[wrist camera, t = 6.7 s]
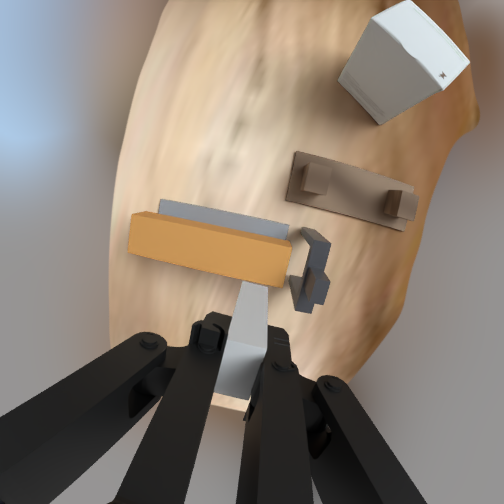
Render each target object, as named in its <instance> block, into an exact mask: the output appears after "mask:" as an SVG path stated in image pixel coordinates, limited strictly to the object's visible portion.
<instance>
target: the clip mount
mask: <svg viewBox="0 0 504 504" xmlns="http://www.w3.org/2000/svg"><path fill="white" fill-rule="evenodd" d="M159 214H163V215H168V216H173V217H178V218H183V219H188V220H193V221H198V222H202V223H207V224H212V225H217V226H222V227H227V228H231V229H236V230H241V231H245V232H250V233H255V234H259V235H264V236H269V237H273V238H278V239H282V240H286V237H287V233H288V228H289V225H288V224H283V223H279V222H274V221H270V220H265V219H261V218H256V217H251V216H247V215H242V214H237V213H232V212H227V211H222V210H217V209H212V208H207V207H202V206H197V205H192V204H187V203H181V202H176V201H171V200H165V199H161V201H160V207H159Z"/></svg>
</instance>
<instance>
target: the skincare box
mask: <svg viewBox="0 0 504 504" xmlns="http://www.w3.org/2000/svg"><path fill="white" fill-rule="evenodd" d="M469 63H470V61H469V60H468V59H467V58H466V56H465V55H464V54H463V53H462V52H461V51H460V49H459V48H458V47H457V46H456V45H455V44H454V43H453V41H452V40H451V39H450V38H449V37H448V36H447V35H446V34H445V33H444V32H443V31H442V30H441V29H440V28H439V27H438V26H437V25H436V24H435V23H434V22H433V21H432V20H431V19H430V18H429V17H428V16H427V15H426V14H425V13H424V12H423V11H422V10H421V9H420V8H419V7H418V6H416V5H415V4H414V3H413V2H412V1H411V0H405V1H403V2H401V3H399V4H396V5H394V6H392V7H390V8H388V9H386V10H385V11H383V12H381V13H379V14H377V15H375V16H373V17H372V18H371V19H370V21H369V23H368V25H367V27H366V29H365V30H364V32H363V34H362V36H361V38H360V40H359V41H358V43H357V45H356V47H355V49H354V51H353V52H352V54H351V56H350V58H349V60H348V62H347V63H346V65H345V67H344V69H343V71H342V73H341V74H340V76H339V78H338V80H337V81H338V82H339V83H340V84H341V85H342V86H343V87H344V88H345V89H346V90H347V91H348V92H349V93H350V94H351V95H352V96H353V97H354V98H355V99H356V100H357V101H358V102H359V103H360V104H361V106H362V107H363V108H364V109H365V110H366V111H367V112H368V113H369V114H370V115H371V116H372V117H373V119H374V120H375V121H376V122H377V123H378V124H379V125H382V124H384V123H386V122H387V121H389V120H390V119H392V118H394V117H395V116H397V115H399V114H400V113H402V112H404V111H405V110H407V109H409V108H411V107H412V106H414V105H416V104H417V103H419V102H421V101H423V100H424V99H426V98H428V97H429V96H431V95H433V94H435V93H437V92H440V91H443V90H444V89H445V88H446V87H447V86H448V85H449V84H450V83H451V82H452V81H453V80H454V79H455V78H456V77H457V76H458V75H459V74H460V73H461V72H462V71H463V69H464V68H465V67H466V66H467V65H468V64H469Z"/></svg>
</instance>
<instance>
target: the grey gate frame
mask: <svg viewBox="0 0 504 504" xmlns="http://www.w3.org/2000/svg"><path fill="white" fill-rule="evenodd" d="M301 235H302V236H303V237H304V239H305V240H306V241H307V243H308V244H309V245H310V249H309V253H308V257H307V261H306V265H305V268H304V272H303V276H302V277H298V276H293V275H290V278H289V285H290V289H291V294H292V299H293V304H294V308H295V311H299V312H305V313H310V314H311V313H312V310H313V307H314V303H315V304H320V305H324V302H325V298H326V295H327V292H328V289H329V285H330V280H329V279H328V277H327V275H326V274H325V272H324V269H325V266H326V262H327V258H328V255H329V251H330V247H331V243H330V242H329V241H328V240H327V239H325V238H324V237H323V236H322V235H321V234H320V233H318V232H317V231H316V230H314V229H310V228H306V227H302V229H301Z"/></svg>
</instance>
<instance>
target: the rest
mask: <svg viewBox="0 0 504 504" xmlns="http://www.w3.org/2000/svg"><path fill="white" fill-rule="evenodd" d="M413 191H414V187H413V186H410V185H408V184H405V183H402V182H400V181H397V180H394V179H391V178H388V177H385V176H383V175H380V174H377V173H374V172H370V171H367V170H364V169H361V168H358V167H354V166H351V165H348V164H344V163H341V162H337V161H334V160H330V159H327V158H323V157H319V156H315V155H311V154H307V153H303V152H299V151H296V155H295V160H294V165H293V169H292V174H291V179H290V183H289V188H288V193H287V197H286V200H288V201H292V202H296V203H301V204H305V205H309V206H313V207H317V208H321V209H325V210H329V211H333V212H337V213H341V214H345V215H348V216H352V217H356V218H359V219H363V220H367V221H370V222H374V223H377V224H381V225H384V226H388V227H391V228H394V229H398V230H401V231H405V227H406V223H407V220H410V221H414V219H415V214H416V210H417V205H418V200H419V196H417V195H414V194H413Z"/></svg>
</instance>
